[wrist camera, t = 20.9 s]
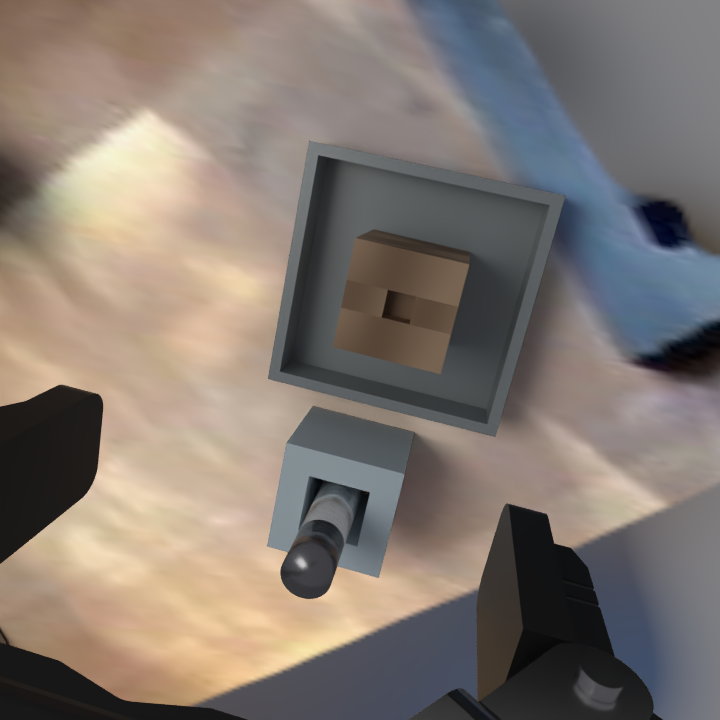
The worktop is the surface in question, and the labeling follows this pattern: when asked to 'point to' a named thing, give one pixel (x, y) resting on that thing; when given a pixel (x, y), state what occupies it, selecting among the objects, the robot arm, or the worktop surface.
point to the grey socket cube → (343, 481)
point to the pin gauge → (320, 541)
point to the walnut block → (401, 299)
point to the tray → (427, 223)
